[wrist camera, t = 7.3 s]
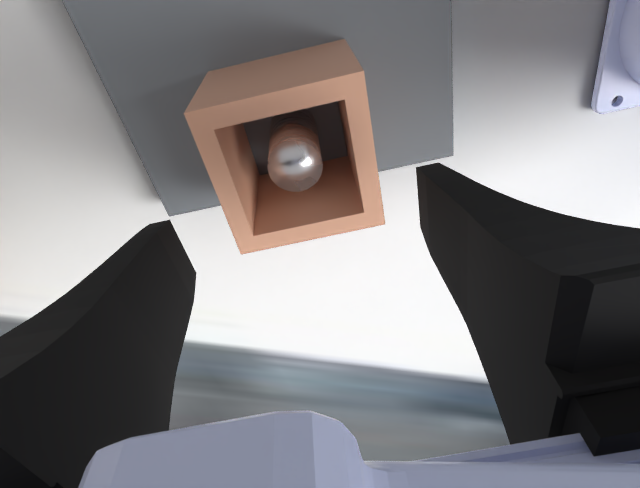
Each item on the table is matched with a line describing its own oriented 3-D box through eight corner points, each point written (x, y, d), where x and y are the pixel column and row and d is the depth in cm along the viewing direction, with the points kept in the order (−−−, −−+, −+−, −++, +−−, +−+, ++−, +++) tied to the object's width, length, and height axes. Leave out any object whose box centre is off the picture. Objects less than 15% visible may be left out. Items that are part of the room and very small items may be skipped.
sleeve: (344, 38, 17) (363, 71, 12) (364, 165, 20) (385, 224, 16) (207, 71, 17) (183, 113, 13) (249, 191, 20) (241, 254, 16)
